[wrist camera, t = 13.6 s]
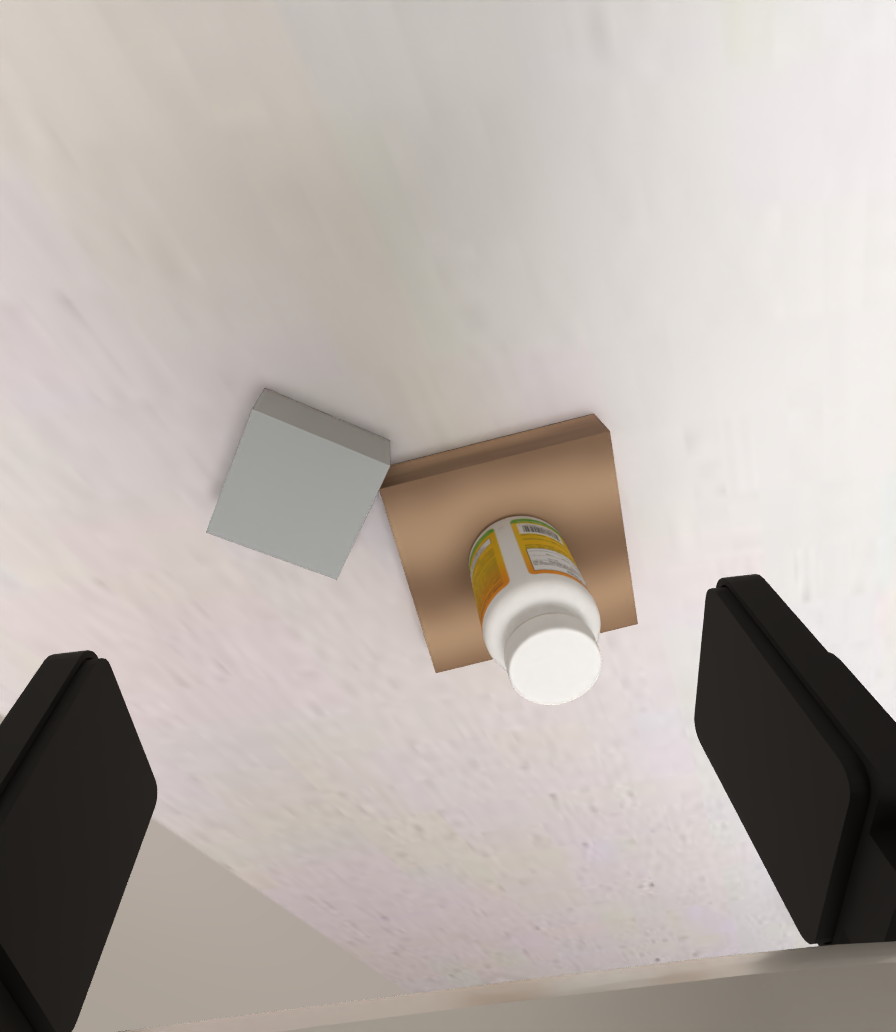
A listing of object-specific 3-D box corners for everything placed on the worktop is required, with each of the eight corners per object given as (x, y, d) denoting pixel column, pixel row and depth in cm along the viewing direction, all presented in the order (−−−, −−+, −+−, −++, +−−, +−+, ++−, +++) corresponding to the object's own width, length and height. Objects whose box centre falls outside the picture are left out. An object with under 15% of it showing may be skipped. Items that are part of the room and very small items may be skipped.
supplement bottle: (488, 614, 40) (517, 736, 31) (452, 536, 37) (472, 643, 29) (578, 579, 39) (634, 692, 30) (547, 497, 37) (597, 595, 28)
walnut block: (379, 468, 39) (379, 489, 36) (594, 413, 38) (609, 431, 35) (432, 643, 44) (435, 673, 41) (622, 596, 43) (637, 624, 41)
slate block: (265, 386, 37) (252, 409, 33) (390, 439, 38) (390, 465, 35) (222, 500, 39) (205, 532, 35) (341, 544, 41) (337, 579, 37)
